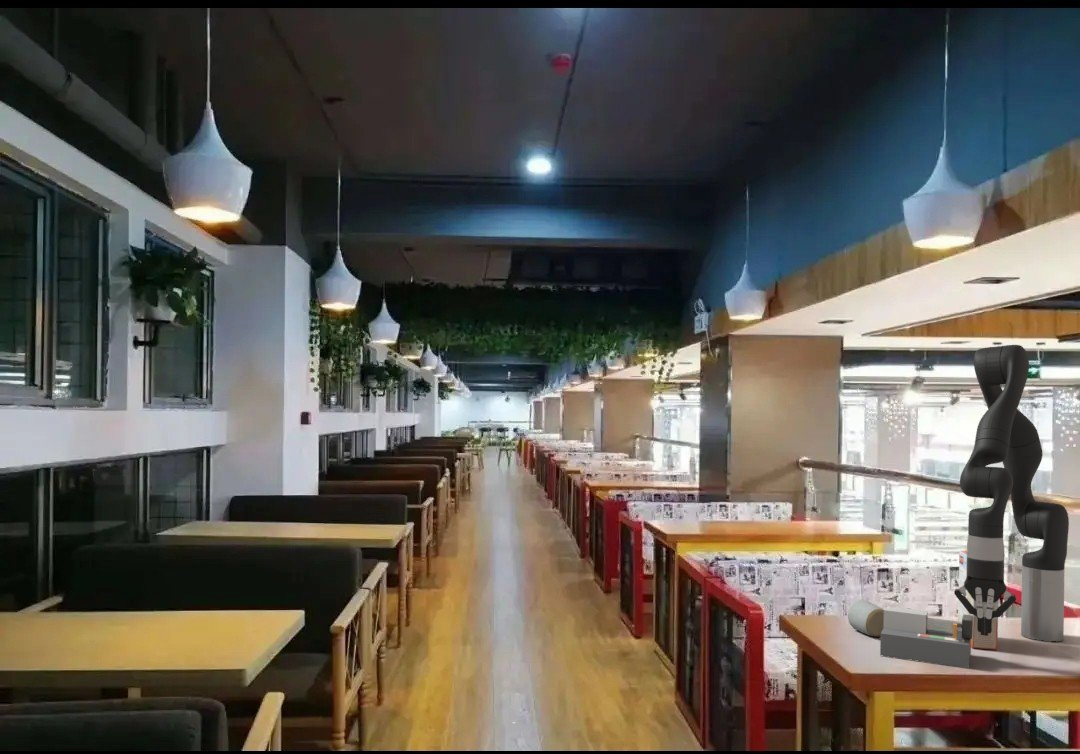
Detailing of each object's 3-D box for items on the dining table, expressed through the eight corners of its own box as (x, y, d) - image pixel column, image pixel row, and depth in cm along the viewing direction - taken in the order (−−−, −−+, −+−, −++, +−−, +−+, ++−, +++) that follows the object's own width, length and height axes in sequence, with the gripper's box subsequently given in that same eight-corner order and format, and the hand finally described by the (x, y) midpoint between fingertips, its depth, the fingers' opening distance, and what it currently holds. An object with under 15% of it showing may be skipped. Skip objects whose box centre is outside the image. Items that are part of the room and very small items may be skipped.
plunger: (920, 626, 213) (920, 609, 213) (972, 633, 208) (972, 615, 208) (916, 635, 205) (916, 617, 205) (971, 642, 200) (971, 623, 200)
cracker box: (999, 651, 213) (1000, 560, 214) (971, 649, 214) (972, 559, 215) (983, 635, 227) (984, 550, 227) (956, 633, 228) (958, 549, 229)
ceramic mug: (866, 639, 221) (867, 607, 221) (846, 630, 229) (847, 599, 229) (904, 637, 224) (905, 606, 224) (883, 629, 232) (884, 598, 232)
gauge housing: (886, 643, 217) (887, 604, 218) (970, 654, 209) (971, 614, 209) (880, 655, 207) (880, 614, 207) (968, 668, 199) (969, 625, 199)
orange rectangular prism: (953, 636, 203) (953, 623, 203) (957, 637, 203) (957, 623, 203) (952, 638, 202) (953, 624, 202) (956, 638, 202) (957, 624, 202)
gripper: (1018, 556, 205) (1017, 635, 204) (953, 551, 211) (952, 627, 210) (1019, 562, 198) (1018, 642, 198) (951, 555, 204) (950, 634, 204)
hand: (984, 634), depth 204 cm, fingers closed
